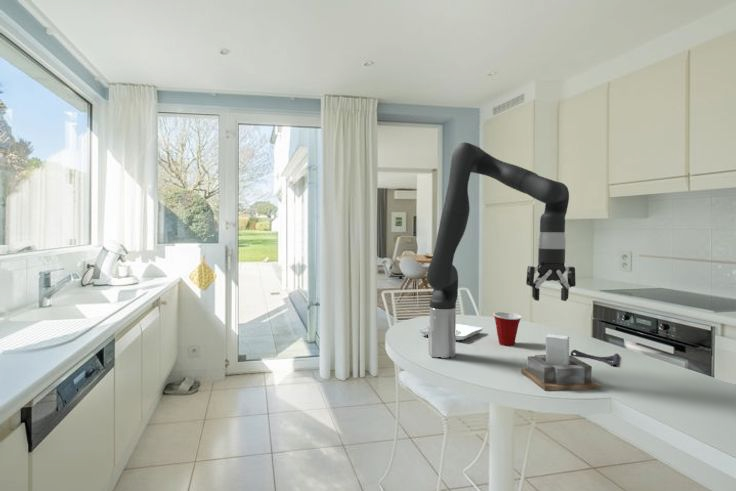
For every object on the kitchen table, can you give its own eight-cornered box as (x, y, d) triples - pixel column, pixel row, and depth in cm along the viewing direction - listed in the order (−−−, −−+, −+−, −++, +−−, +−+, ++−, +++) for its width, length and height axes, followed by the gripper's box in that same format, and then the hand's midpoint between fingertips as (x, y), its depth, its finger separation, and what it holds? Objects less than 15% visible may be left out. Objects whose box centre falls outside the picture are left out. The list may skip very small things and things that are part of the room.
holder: (544, 390, 121) (545, 370, 121) (520, 372, 137) (521, 354, 137) (600, 389, 122) (600, 368, 122) (569, 371, 138) (570, 353, 138)
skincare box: (569, 375, 130) (569, 336, 130) (567, 379, 126) (567, 338, 126) (547, 372, 133) (548, 333, 133) (545, 376, 130) (545, 336, 129)
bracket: (573, 352, 162) (573, 345, 162) (619, 358, 154) (619, 350, 154) (568, 362, 150) (568, 354, 150) (617, 369, 142) (617, 361, 142)
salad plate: (439, 328, 202) (439, 321, 202) (484, 334, 190) (484, 326, 190) (417, 337, 185) (417, 329, 185) (464, 344, 173) (464, 336, 172)
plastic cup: (512, 349, 164) (512, 317, 164) (487, 344, 172) (487, 313, 172) (526, 344, 171) (527, 314, 171) (502, 339, 179) (502, 310, 179)
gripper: (534, 247, 128) (532, 302, 128) (581, 248, 129) (579, 302, 129) (523, 246, 135) (522, 298, 136) (568, 247, 136) (566, 298, 137)
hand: (550, 300), depth 133 cm, fingers open, 8 cm apart
